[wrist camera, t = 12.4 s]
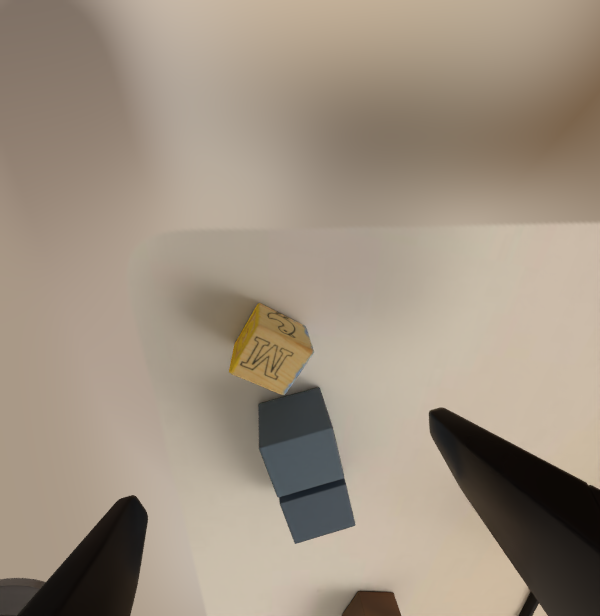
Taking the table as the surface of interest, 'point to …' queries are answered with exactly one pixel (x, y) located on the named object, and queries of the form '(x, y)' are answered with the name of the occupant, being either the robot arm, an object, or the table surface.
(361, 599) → the brown double block
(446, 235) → the table surface
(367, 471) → the table surface
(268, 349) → the alphabet block
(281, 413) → the stacked grey-blue cubes
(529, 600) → the pen
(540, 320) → the table surface
